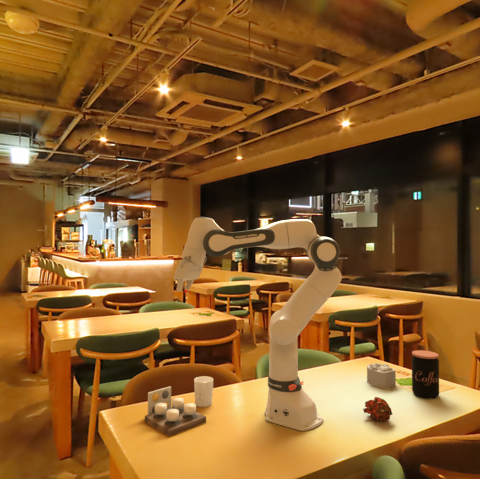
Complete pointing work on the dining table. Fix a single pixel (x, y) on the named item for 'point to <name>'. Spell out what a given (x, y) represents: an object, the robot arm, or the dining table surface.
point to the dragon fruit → (378, 409)
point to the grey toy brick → (381, 375)
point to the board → (175, 422)
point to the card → (159, 398)
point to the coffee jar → (425, 374)
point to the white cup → (203, 391)
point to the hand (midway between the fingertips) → (183, 290)
